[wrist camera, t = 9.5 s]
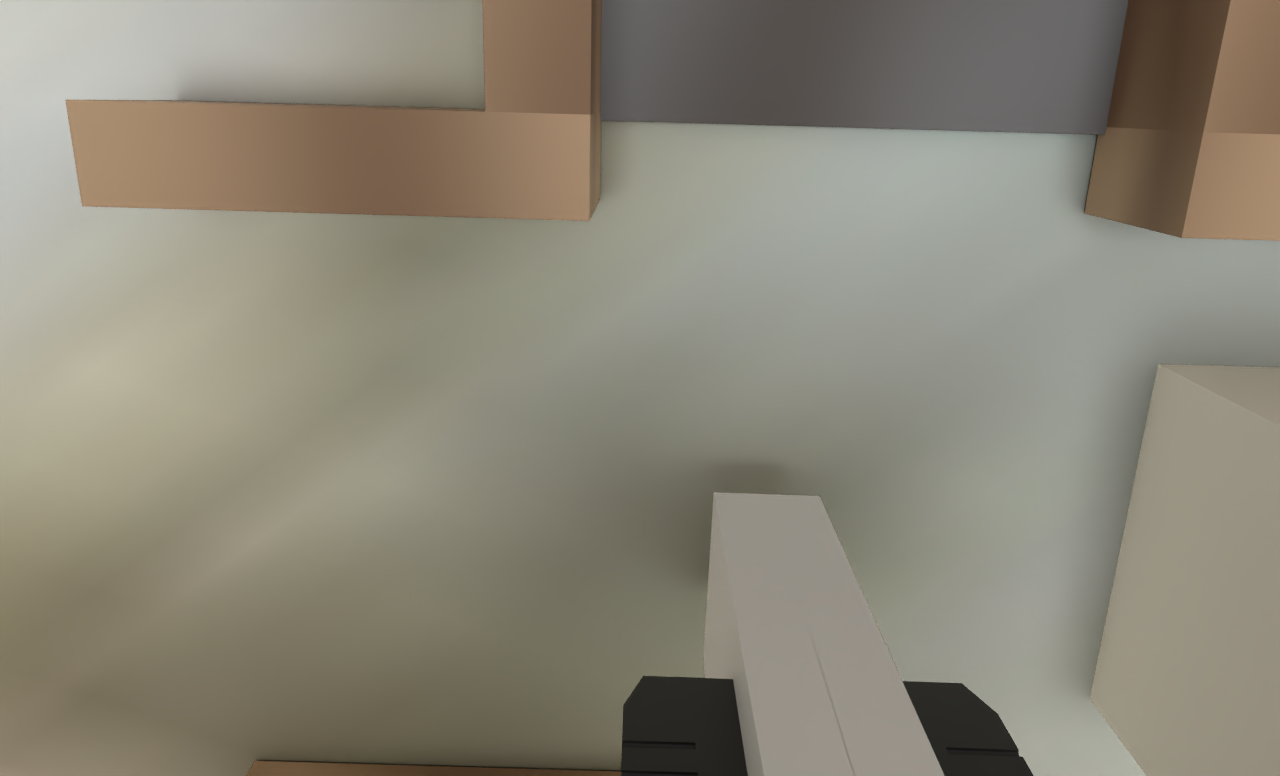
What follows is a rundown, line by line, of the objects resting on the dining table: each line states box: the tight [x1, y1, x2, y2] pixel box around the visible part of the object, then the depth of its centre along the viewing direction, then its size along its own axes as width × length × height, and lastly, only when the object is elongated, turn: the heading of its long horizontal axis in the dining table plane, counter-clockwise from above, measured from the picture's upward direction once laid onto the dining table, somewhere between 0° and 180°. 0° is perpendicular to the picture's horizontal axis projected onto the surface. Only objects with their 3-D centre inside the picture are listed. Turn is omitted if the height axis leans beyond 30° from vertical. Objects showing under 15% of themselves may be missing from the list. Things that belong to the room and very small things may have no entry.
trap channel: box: [66, 0, 1280, 776], centre depth 13 cm, size 23×28×2 cm
